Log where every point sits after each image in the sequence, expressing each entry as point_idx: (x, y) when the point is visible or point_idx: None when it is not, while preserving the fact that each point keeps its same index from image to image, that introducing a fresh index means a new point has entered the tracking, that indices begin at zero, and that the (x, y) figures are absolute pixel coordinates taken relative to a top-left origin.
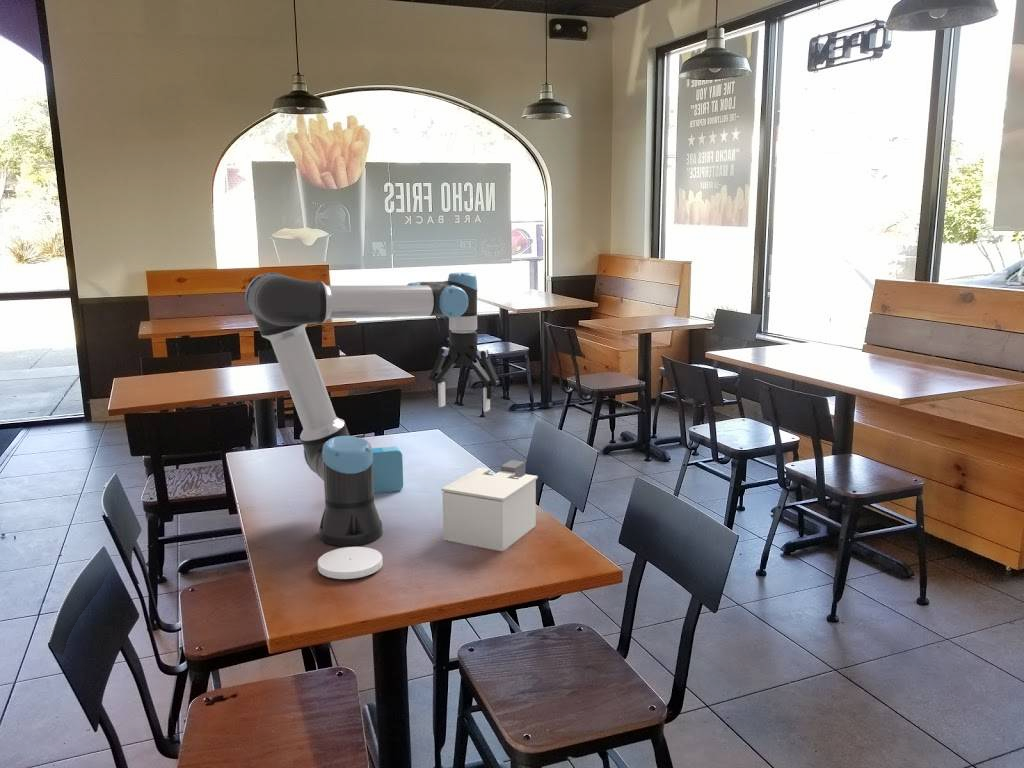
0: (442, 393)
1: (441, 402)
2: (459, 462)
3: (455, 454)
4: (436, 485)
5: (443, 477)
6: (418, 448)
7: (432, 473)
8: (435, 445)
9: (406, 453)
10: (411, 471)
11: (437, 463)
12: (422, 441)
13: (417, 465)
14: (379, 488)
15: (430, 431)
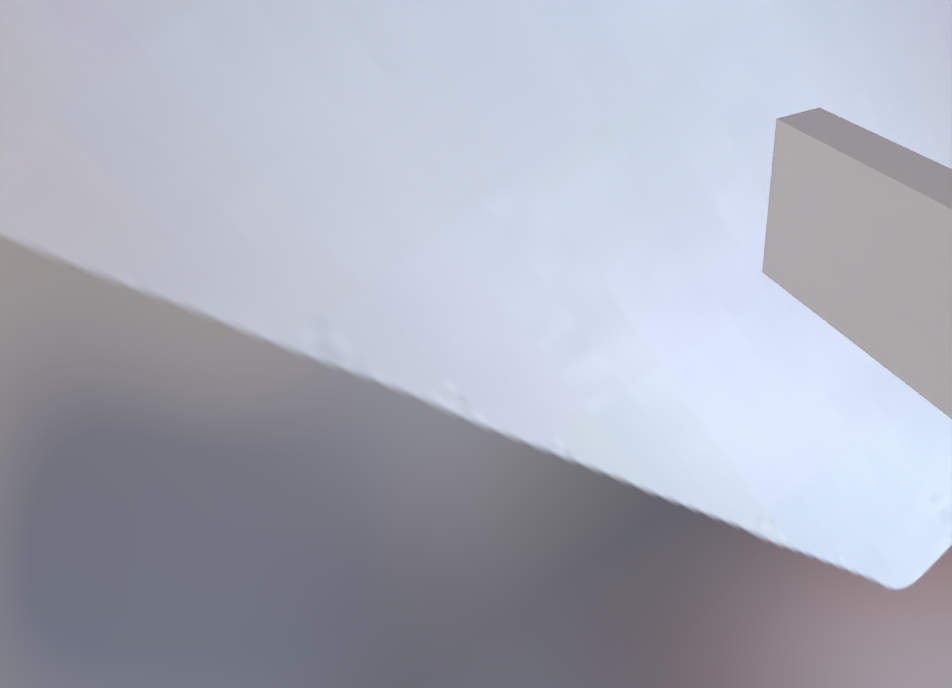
0: (948, 291)
1: (828, 172)
2: (622, 413)
3: (696, 475)
4: (525, 46)
5: (569, 191)
6: (877, 427)
7: (658, 206)
8: (826, 496)
9: None
10: None
11: (711, 338)
12: (894, 494)
13: None
14: None
15: (908, 583)
